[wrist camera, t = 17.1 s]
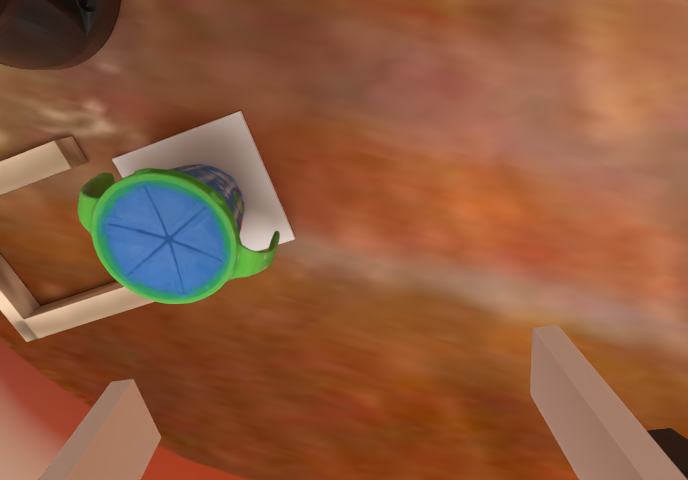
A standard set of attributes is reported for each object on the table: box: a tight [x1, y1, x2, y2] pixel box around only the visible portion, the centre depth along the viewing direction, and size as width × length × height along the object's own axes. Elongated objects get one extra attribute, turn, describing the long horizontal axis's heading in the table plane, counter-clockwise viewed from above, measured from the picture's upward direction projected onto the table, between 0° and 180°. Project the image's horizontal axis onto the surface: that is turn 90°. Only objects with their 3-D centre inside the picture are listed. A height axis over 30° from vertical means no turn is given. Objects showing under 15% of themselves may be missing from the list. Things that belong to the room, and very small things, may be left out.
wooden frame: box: [0, 136, 155, 342], centre depth 39 cm, size 17×16×2 cm
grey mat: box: [112, 111, 295, 251], centre depth 38 cm, size 13×13×1 cm
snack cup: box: [78, 164, 280, 304], centre depth 33 cm, size 16×10×10 cm
